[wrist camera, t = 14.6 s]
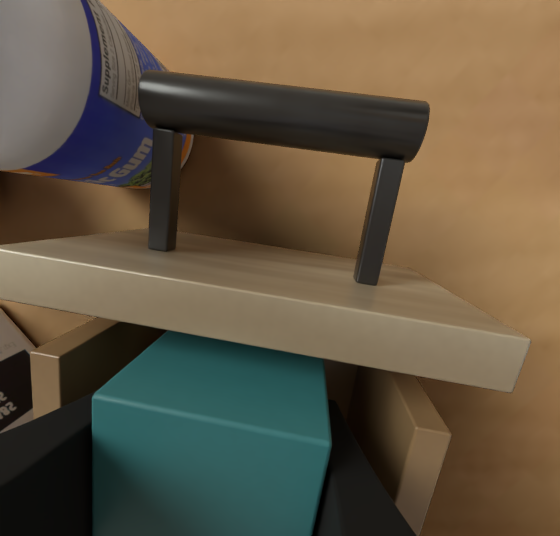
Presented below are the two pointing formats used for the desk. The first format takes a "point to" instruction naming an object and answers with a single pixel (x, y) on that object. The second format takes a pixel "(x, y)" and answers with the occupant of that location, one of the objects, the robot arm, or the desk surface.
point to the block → (210, 441)
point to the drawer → (273, 280)
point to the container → (14, 375)
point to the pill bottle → (74, 94)
